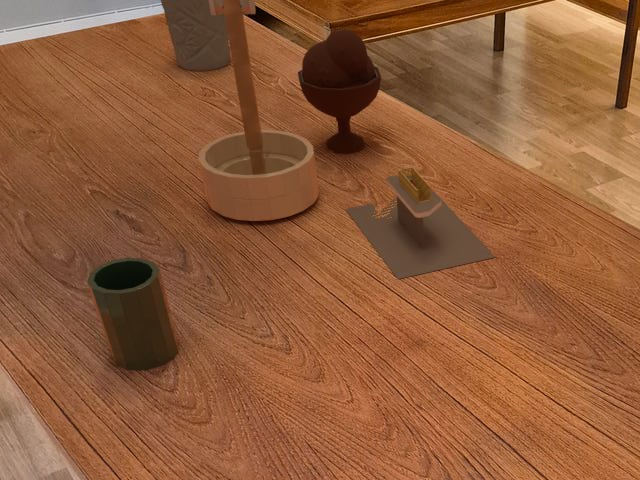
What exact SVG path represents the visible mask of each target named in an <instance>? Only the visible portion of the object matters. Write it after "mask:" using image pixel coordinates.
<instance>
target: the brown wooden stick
mask: <svg viewBox="0 0 640 480" xmlns="http://www.w3.org/2000/svg"><path fill="white" fill-rule="evenodd" d="M222 1H223V8H224V14H225V19H226V25H227V31H228V38H229V40H228V44H229V47H230V56H231V60H232V66H233V73H234V79H235V84H236V89H237V90H236V91H237V96H238V101H239V108H240V114H241V120H242V126H243V132H245V138H246V144H247V149H249V155H250V161H251V167H252V173H253V175H258V174H267V173H266V167H265V160H264V154H263V139H262V133H261V130H262V128H261V127H262V126H261V121H260V115H259V108H258V101H257V95H256V88H255V81H254V77H253V69H252V63H251V57H250V50H249V44H248V37H247V32H246V25H245V18H244V14H242V12H241V5H240V0H222Z"/></svg>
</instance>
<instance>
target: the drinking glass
mask: <svg viewBox="0 0 640 480" xmlns="http://www.w3.org/2000/svg"><path fill="white" fill-rule="evenodd" d="M160 3H161V7H162V9H163V13H164V18H165V21H166V25H167V27H168V29H167V30H168V32H169V35H170V36H169V37H170V39H171V43H172V46H173V51H174V56H175V59H176V62H177V65H178V66H179V67H180V68H182V69H183V70H187V71H194V72H208V71H215V70H218V69H222V68H225V67H227V66H228V65H230V63H231V60H232V56H231V49H230V43H229V37H228V31H227V25H226V19H225V15H211V11H210V6H209V0H160Z"/></svg>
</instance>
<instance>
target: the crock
mask: <svg viewBox="0 0 640 480" xmlns="http://www.w3.org/2000/svg"><path fill="white" fill-rule="evenodd" d="M86 283H87V286H88V289H89V292H90V295H91V298H92V301H93V305H94V307H95V308H94V309H95V310H96V314H97V316H98V320H99V324H100V325H101V328H102V332H103V334H104V335H103V336H104V338H105V341H106V344H107V347H108V350H109V353H110V356H111V358H112V360H113V361H114V363H115V364H116V365H117V366H119V367H121V368H122V369H124V370H129V371H148V370H152V369H156V368H159V367H162V366H164V365H166V364H167V363H169V362H171V361H172V360H173V359H174V358H175V357H176V356H177V354H178V353H179V349H180V342H179V338H178V334H177V330H176V326H175V323H174V319H173V314H172V312H171V307H170V303H169V301H168V297H167V292H166V289H165V285H164V282H163V277H162V272H161V270H160V268H159V267H158V265H157V264H156V263H155V262H154V261H151V260H149V259H145V258H143V257H123V258H117V259H112V260H109V261H107V262H104V263H102V264H100V265H98V266H96V267H95V268H93V270H92V271H90V272H89V273H88V277H87V280H86Z"/></svg>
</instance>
